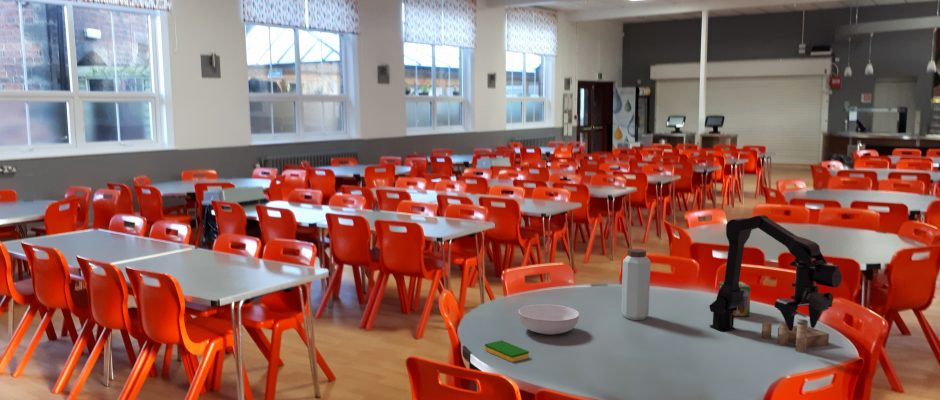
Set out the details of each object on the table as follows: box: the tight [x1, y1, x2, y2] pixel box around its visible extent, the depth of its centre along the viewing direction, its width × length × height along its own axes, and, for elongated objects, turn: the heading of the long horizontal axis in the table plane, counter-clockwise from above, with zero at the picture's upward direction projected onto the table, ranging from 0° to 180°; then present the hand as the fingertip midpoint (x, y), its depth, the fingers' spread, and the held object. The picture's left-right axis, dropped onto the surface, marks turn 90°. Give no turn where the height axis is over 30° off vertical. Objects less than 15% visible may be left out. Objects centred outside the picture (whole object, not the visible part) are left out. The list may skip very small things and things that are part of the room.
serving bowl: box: [518, 303, 580, 336], centre depth 258 cm, size 21×21×7 cm
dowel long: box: [795, 318, 809, 353], centre depth 238 cm, size 3×3×10 cm
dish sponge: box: [484, 339, 530, 363], centre depth 234 cm, size 7×14×2 cm, turn 36°
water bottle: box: [620, 248, 651, 321], centre depth 274 cm, size 10×10×25 cm
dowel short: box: [761, 321, 773, 340], centre depth 252 cm, size 3×3×5 cm
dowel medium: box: [777, 321, 789, 346], centre depth 245 cm, size 3×3×7 cm
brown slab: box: [777, 325, 830, 348], centre depth 249 cm, size 11×11×4 cm
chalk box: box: [718, 281, 751, 317], centre depth 281 cm, size 9×9×15 cm
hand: (801, 329), depth 238 cm, fingers open, 9 cm apart
